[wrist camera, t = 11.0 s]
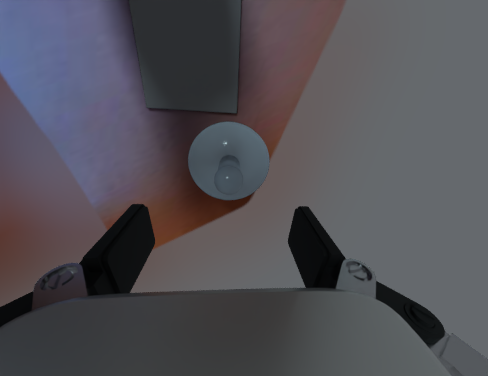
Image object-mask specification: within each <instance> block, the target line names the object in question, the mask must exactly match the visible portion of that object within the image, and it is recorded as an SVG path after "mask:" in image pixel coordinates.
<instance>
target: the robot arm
mask: <svg viewBox="0 0 488 376" xmlns="http://www.w3.org/2000/svg"><path fill="white" fill-rule="evenodd" d="M154 244H155V238H154V233H153V229H152V224H151V220H150V216H149V211H148V208H147V207H145V206H144V205H143V204H132V205H131V206H130V207H129V208H128V209H127V210H126V212H125V213H124V214H123V215H122V216H121V217H120V218H119V219H118V220H117V221H116V222H115V223H114V224H113V226H112V227H111V228H110V229H109V230H108V231H107V232H106V233H105V234H104V235H103V236H102V238H101V239H100V240H99V241H98V242H97V243H96V244H95V245H94V246H93V247H92V248H91V249H90V250H89V251H88V252H87V254H86V255H85V256H84V257H83V260H82V261H81V262H80V263H79V264H78V263H68V264H64V265H61V266H58V267H56V268H54V269H52V270H50V271H49V272H47V273H46V274H44V275H43V276H42V277H41V278H40V279H39V280H38V281H37V283H36V284H35V286H34V290H33V292H31V293H28V294H26V295H24V296H22V297H20V298H18V299H16V300H14V301H12V302H10V303H8V304H6V305H4V306H2V307H0V376H488V359H487V358H485V357H484V356H483V355H481V354H480V353H479V352H477V351H476V350H475V349H473V348H472V347H470V346H469V345H468V344H466V343H465V342H464V341H462V340H461V339H460V338H458V337H457V336H456V335H454V334H453V333H452V334H450V335H449V334H448V333H446V332H445V330H444V327H443V325H442V324H441V322H440V321H439V320H438V319H437V318H436V317H435V315H433V314H432V313H431V312H430V311H429V310H428V309H426V308H425V307H423V306H421V305H420V304H418V303H416V302H414V301H412V300H410V299H409V298H407V297H405V296H403V295H401V294H399V293H398V292H396V291H394V290H392V289H390V288H388V287H387V286H385V285H383V284H381V283H379V282H377V281H376V276H375V274H374V272H373V271H372V270H371V268H370V267H368V266H367V265H366V264H364V263H363V262H361V261H358V260H356V259H345V257H344V256H343V254H342V253H341V251H340V250H339V249H338V247H337V246H336V245H335V243H334V242H333V240H332V239H331V238H330V236H329V235H328V233H327V232H326V231H325V230H324V228H323V227H322V226H321V224H320V223H319V221H318V220H317V218H316V217H315V215H314V214H313V213H312V211H311V210H310V209H309V207H306V206H304V207H303V206H302V207H301V206H300V207H298V209H295V212H294V216H293V221H292V225H291V229H290V233H289V238H288V244H289V247H290V249H291V252H292V254H293V257H294V259H295V262H296V264H297V267H298V269H299V272H300V274H301V277H302V279H303V282H304V284H305V287H306V288H273V289H234V290H201V291H173V292H146V293H145V292H144V293H130V291H131V289H132V287H133V285H134V283H135V282H136V279H137V278H138V276H139V274H140V272H141V270H142V268H143V266H144V264H145V262H146V260H147V258H148V256H149V255H150V253H151V251H152V249H153V247H154Z"/></svg>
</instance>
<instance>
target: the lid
mask: <svg viewBox="0 0 488 376" xmlns="http://www.w3.org/2000/svg"><path fill="white" fill-rule="evenodd" d="M188 165H189V170H190V174H191V176H192V178H193V180H194V181H195V183H196V184H197V185H198V187H199V188H200V189H201V190H203V191H204V192H205V193H207V194H209V195H210V196H213V197H215V198H218V199H223V200H236V199H241V198H244V197H246V196H248V195H250V194H252V193H253V192H255V191H256V190H257V189H258V188H259V187H260V186H261V185H262V183H263V182H264V180H265V178H266V176H267V173H268V170H269V154H268V150H267V147H266V145H265V143H264V141H263V140H262V139H261V137H260V136H259V135H258V134H257V133H256V132H255V131H254V130H252V129H251V128H249V127H248V126H246V125H243V124H241V123H237V122H219V123H216V124H213V125H211V126H209V127H207V128H206V129H204V130H203V131H202V132H201V133H200V134H199V135H198V136H197V137H196V138H195V140H194V141H193V143H192V145H191V147H190V151H189V156H188Z"/></svg>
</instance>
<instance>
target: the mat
mask: <svg viewBox="0 0 488 376" xmlns="http://www.w3.org/2000/svg"><path fill="white" fill-rule="evenodd" d="M129 5H130V11H131V17H132V23H133V29H134V35H135V41H136V47H137V53H138V59H139V65H140V71H141V77H142V83H143V89H144V95H145V101H146V107H147V108H161V109H177V110H193V111H208V112H224V113H237V95H238V70H239V44H240V19H241V0H129Z"/></svg>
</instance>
